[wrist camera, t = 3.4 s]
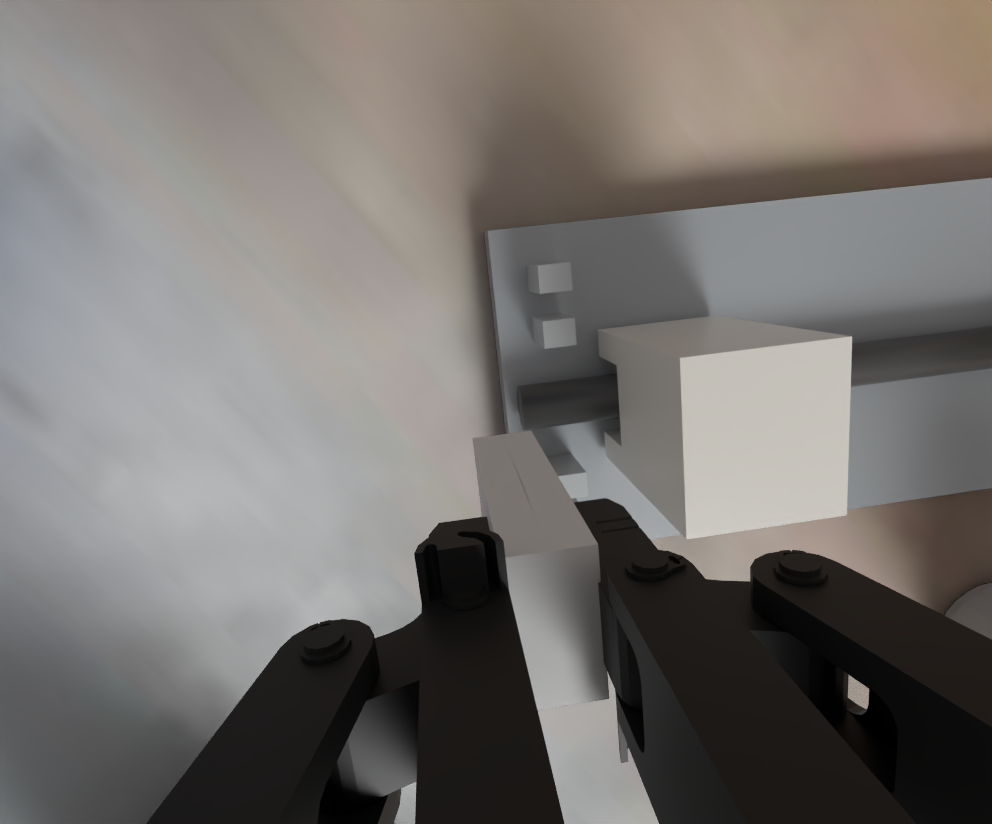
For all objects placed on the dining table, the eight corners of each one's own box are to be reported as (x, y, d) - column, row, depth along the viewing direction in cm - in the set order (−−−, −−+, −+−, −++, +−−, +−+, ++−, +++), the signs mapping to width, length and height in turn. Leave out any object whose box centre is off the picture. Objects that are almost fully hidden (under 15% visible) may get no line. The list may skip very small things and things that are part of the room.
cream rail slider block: (605, 456, 26) (686, 539, 18) (597, 329, 25) (680, 357, 17) (718, 440, 27) (846, 515, 18) (715, 315, 25) (852, 336, 17)
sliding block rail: (517, 543, 29) (537, 606, 23) (484, 233, 25) (499, 222, 20) (1047, 465, 31) (1177, 506, 25) (1079, 170, 27) (1237, 145, 22)
